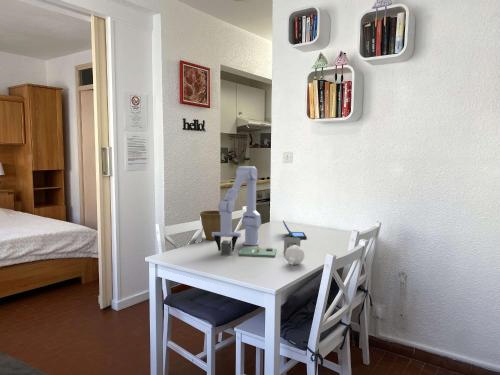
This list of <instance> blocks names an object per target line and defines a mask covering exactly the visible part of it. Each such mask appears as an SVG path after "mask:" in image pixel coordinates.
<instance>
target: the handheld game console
mask: <svg viewBox="0 0 500 375" xmlns="http://www.w3.org/2000/svg"><path fill="white" fill-rule="evenodd" d="M282 222H283V225H284V227H285V228H286V230H287V232H288V235H289V236H290V237H291V238H300V239H301V240H307V239H308V238H307V235H306V234H305V232H303V231H291V230H290V229H289V227H288V225H287V224H286V223H285V220H282Z"/></svg>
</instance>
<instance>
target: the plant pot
mask: <svg viewBox="0 0 500 375" xmlns="http://www.w3.org/2000/svg"><path fill="white" fill-rule="evenodd" d="M199 213H200V221H201V225H202V229H203V233H204V236H205V239H206V240H208V241H215V239H214V238H215V236H214V237H212V232H221V215H220V214H219V210H204V211H202V210H201V211H200V212H199Z"/></svg>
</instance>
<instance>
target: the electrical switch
mask: <svg viewBox="0 0 500 375" xmlns="http://www.w3.org/2000/svg"><path fill="white" fill-rule="evenodd" d="M283 238H284V240H283V241H284V242H283V243H284V244H283V254H285V252H286V249H287V248H289V247H290V246H293V245H297V246H299V247H301V240H302V239H300V238H291V236H290V237H289V236H287V237H286V236H285V237H283Z"/></svg>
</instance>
